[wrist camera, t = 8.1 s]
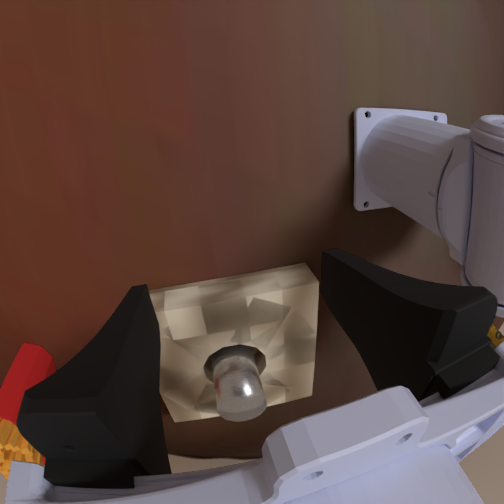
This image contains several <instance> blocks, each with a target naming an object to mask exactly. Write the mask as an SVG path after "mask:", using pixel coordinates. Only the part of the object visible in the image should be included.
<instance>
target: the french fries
mask: <svg viewBox="0 0 504 504" xmlns="http://www.w3.org/2000/svg"><path fill="white" fill-rule="evenodd" d="M56 371H57V370H56V367H55V364H54V360H53V357H52V356H51V355H50V354H49V353H48V352H47V351H46V350H45V349H44V348H43V347H42V346H38V345H33V344H28V343H24V344H23V345H22V346H21V348H20V349H19V350H18V352H17V354H16V356H15V358H14V361H13V363H12V365H11V367H10V369H9V371H8V373H7V375H6V377H5V380H4V382H3V384H2V386H1V389H0V473H3V474H4V475H5V476H4V477H5V478H6V479H8V477H9V471H10V466H11V461H12V460H17V461H24V462H33V463H38V464H40V465H45V460H46V458H45V457H44V456H43V455H41V454H40V453H39V452H38V451H37V450H36V449H35V448H34V447H33V446H32V445H31V444H30V443H29V442H28V441H26V440H25V438H24V437H23V436H22V435H21V434H20V432H19V430H18V428H17V426H16V420H17V416H18V413H19V409H20V405H21V402H22V399H23V395H24V392H25V390H27V389H29V388H31V387H33V386H34V385H36V384H38V383H39V382H41V381H43V380H44V379H46V378H47V377H49V376H50V375H52V374H53V373H55V372H56Z"/></svg>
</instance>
